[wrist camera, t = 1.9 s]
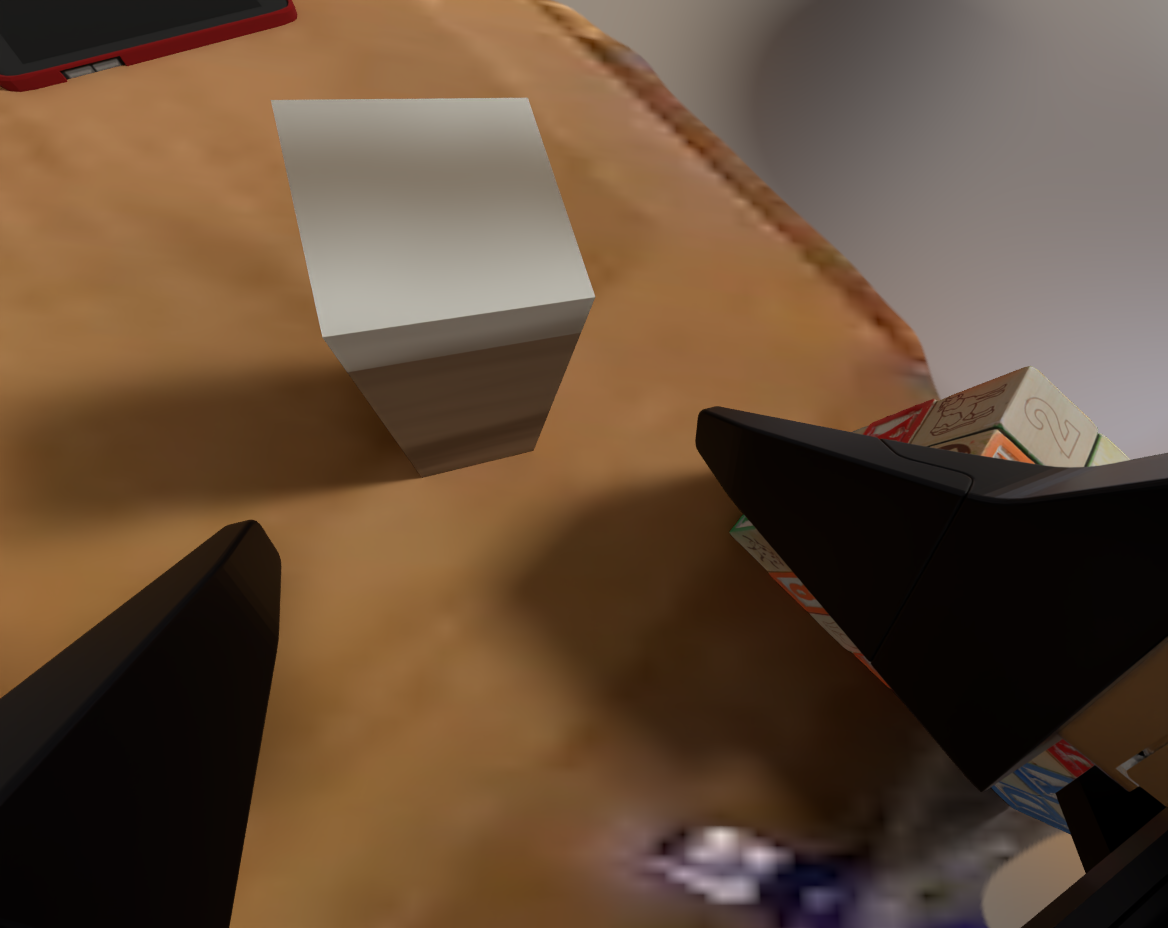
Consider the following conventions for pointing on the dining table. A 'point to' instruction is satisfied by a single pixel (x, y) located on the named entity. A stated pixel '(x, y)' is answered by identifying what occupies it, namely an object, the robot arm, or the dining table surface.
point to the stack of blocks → (1000, 430)
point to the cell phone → (117, 33)
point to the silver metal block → (438, 266)
